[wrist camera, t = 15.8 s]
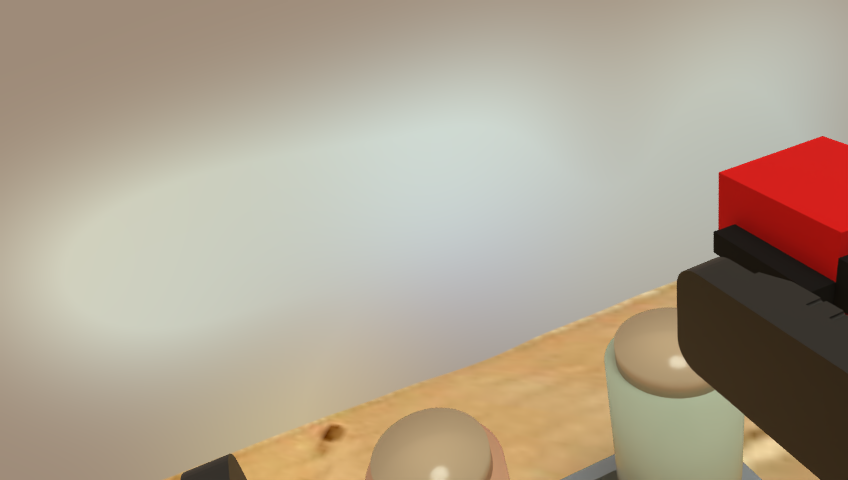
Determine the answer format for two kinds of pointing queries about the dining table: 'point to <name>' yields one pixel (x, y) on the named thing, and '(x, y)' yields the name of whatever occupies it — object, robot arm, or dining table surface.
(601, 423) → the dining table surface
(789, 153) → the red and black block
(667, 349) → the green jar
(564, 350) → the dining table surface
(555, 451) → the dining table surface
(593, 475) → the rack
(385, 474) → the terracotta jar
